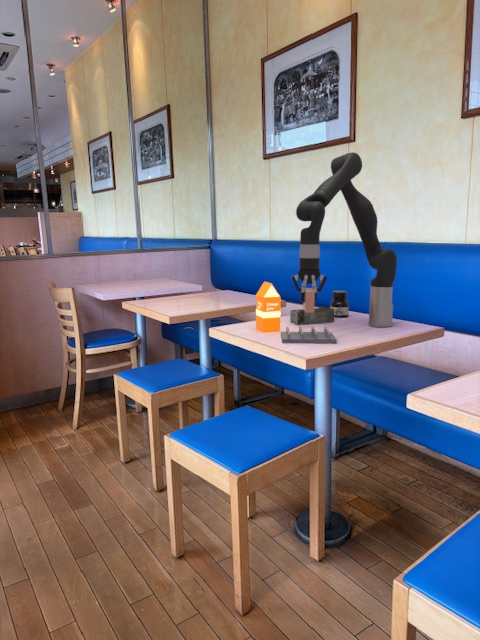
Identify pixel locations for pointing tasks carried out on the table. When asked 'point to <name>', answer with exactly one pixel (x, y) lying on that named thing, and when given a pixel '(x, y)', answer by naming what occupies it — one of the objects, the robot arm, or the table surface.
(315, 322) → the weathered grey box
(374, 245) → the robot arm
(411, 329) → the table surface
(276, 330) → the orange juice
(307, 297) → the wooden block
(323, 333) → the rack
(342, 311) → the ink bottle
